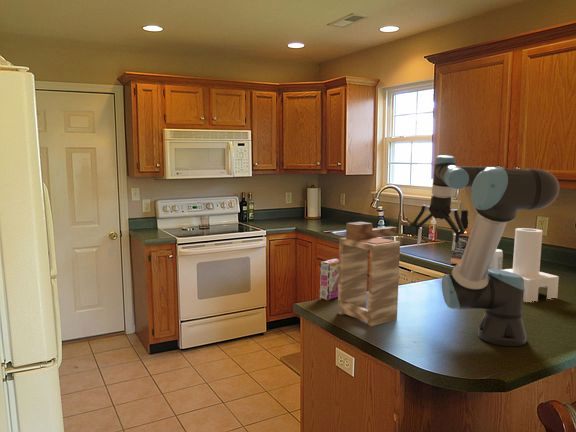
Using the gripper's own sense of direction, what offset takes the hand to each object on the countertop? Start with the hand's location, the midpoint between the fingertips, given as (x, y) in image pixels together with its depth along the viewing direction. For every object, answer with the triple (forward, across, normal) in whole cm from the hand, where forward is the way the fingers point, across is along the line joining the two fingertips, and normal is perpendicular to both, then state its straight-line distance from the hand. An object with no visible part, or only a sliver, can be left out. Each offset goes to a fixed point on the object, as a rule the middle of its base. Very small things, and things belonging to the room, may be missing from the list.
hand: (435, 246), depth 193 cm
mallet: (-4, +22, +14) cm, 26 cm away
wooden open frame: (+24, +18, +26) cm, 40 cm away
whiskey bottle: (+40, -1, -90) cm, 98 cm away
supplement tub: (+35, -19, -65) cm, 76 cm away
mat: (-6, +17, +23) cm, 30 cm away
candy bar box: (+28, +40, +10) cm, 50 cm away
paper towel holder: (+29, -35, -38) cm, 59 cm away
